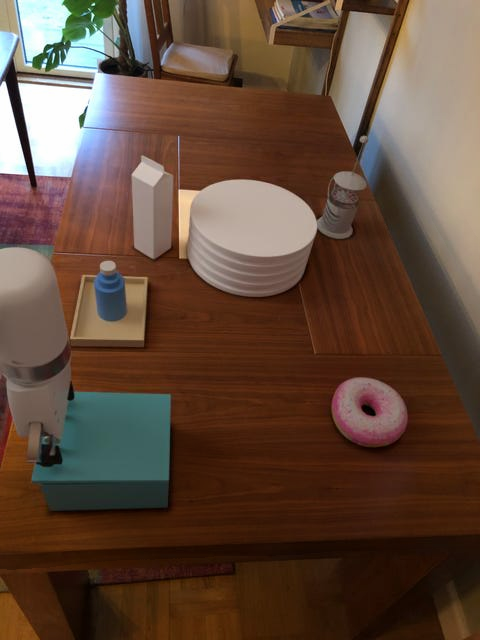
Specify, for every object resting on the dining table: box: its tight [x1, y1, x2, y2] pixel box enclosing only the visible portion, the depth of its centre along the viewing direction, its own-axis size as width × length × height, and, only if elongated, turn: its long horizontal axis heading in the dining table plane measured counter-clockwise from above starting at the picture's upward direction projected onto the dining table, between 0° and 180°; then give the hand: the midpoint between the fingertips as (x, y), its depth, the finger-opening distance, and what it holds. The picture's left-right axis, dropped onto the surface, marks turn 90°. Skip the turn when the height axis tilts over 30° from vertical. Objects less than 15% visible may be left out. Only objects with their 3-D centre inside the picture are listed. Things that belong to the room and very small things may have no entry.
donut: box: [330, 376, 409, 448], centre depth 84 cm, size 14×13×5 cm
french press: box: [316, 135, 369, 240], centre depth 116 cm, size 10×12×25 cm
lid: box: [30, 391, 172, 484], centre depth 65 cm, size 17×14×5 cm
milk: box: [131, 154, 174, 260], centre depth 102 cm, size 6×6×22 cm
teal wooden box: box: [39, 481, 170, 512], centre depth 71 cm, size 17×14×9 cm
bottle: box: [94, 260, 127, 321], centre depth 90 cm, size 6×6×12 cm
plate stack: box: [187, 179, 318, 298], centre depth 108 cm, size 28×28×12 cm
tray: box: [69, 274, 149, 348], centre depth 94 cm, size 17×13×2 cm
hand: (56, 428), depth 65 cm, fingers open, 9 cm apart
